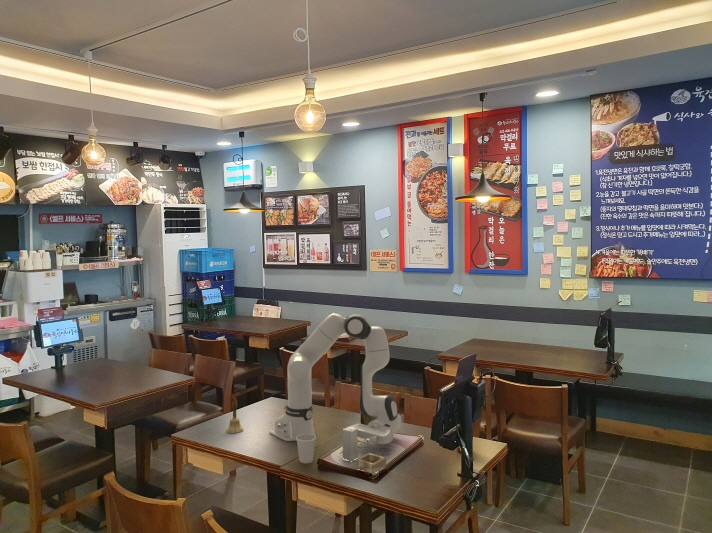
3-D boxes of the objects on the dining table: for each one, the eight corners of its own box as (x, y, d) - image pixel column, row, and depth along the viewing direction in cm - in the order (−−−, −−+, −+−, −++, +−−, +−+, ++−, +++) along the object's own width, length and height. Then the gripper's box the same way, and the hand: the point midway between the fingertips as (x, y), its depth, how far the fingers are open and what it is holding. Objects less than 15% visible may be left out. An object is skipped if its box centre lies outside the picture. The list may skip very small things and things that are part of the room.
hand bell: (222, 430, 255) (222, 397, 254) (238, 426, 260) (238, 394, 260) (231, 434, 248) (231, 401, 248) (246, 430, 254) (246, 398, 253)
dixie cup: (297, 456, 223) (297, 433, 222) (317, 456, 223) (317, 433, 222) (294, 464, 214) (294, 440, 214) (314, 464, 214) (314, 440, 214)
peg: (342, 459, 219) (342, 429, 219) (349, 456, 223) (349, 426, 222) (351, 462, 217) (351, 431, 216) (357, 459, 220) (357, 428, 220)
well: (356, 470, 209) (356, 459, 209) (368, 463, 216) (368, 452, 215) (373, 476, 204) (374, 464, 204) (385, 468, 211) (386, 457, 210)
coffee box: (379, 423, 265) (379, 391, 265) (378, 427, 259) (378, 395, 258) (361, 422, 266) (361, 391, 266) (360, 427, 260) (360, 394, 259)
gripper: (358, 418, 242) (340, 426, 231) (396, 427, 230) (378, 436, 219) (358, 431, 242) (340, 440, 231) (395, 441, 230) (378, 451, 219)
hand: (359, 438), depth 225 cm, fingers open, 8 cm apart
